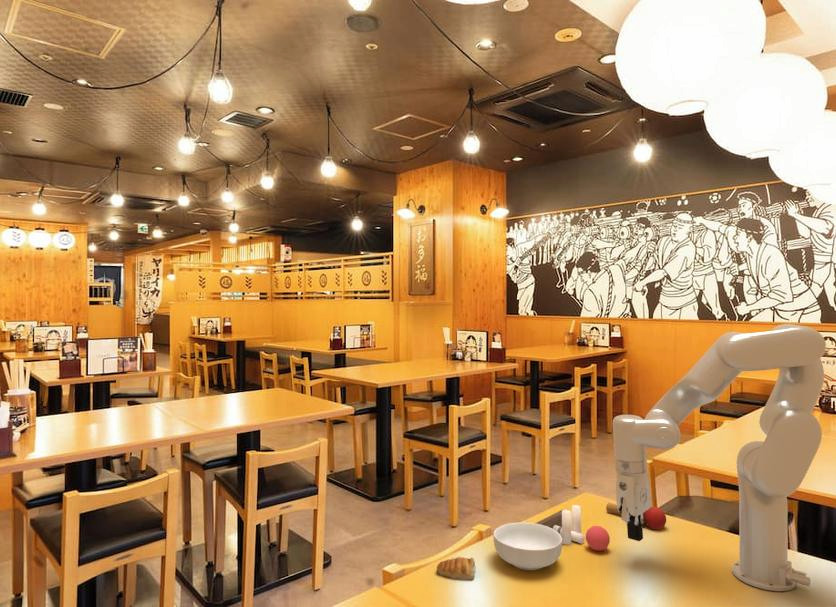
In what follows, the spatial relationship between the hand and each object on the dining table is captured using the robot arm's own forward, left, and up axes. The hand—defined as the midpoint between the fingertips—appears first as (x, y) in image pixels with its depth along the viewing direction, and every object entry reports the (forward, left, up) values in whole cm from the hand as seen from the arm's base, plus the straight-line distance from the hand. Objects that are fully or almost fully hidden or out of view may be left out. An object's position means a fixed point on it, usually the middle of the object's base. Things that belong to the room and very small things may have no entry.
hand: (635, 538), depth 136 cm
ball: (+10, +1, -3) cm, 10 cm away
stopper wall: (+25, +1, -6) cm, 25 cm away
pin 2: (+18, -2, -6) cm, 19 cm away
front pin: (+14, 0, -5) cm, 15 cm away
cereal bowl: (+19, +20, -6) cm, 28 cm away
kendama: (+11, -24, -6) cm, 27 cm away
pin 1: (+18, +3, -6) cm, 19 cm away
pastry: (+27, +36, -6) cm, 45 cm away
